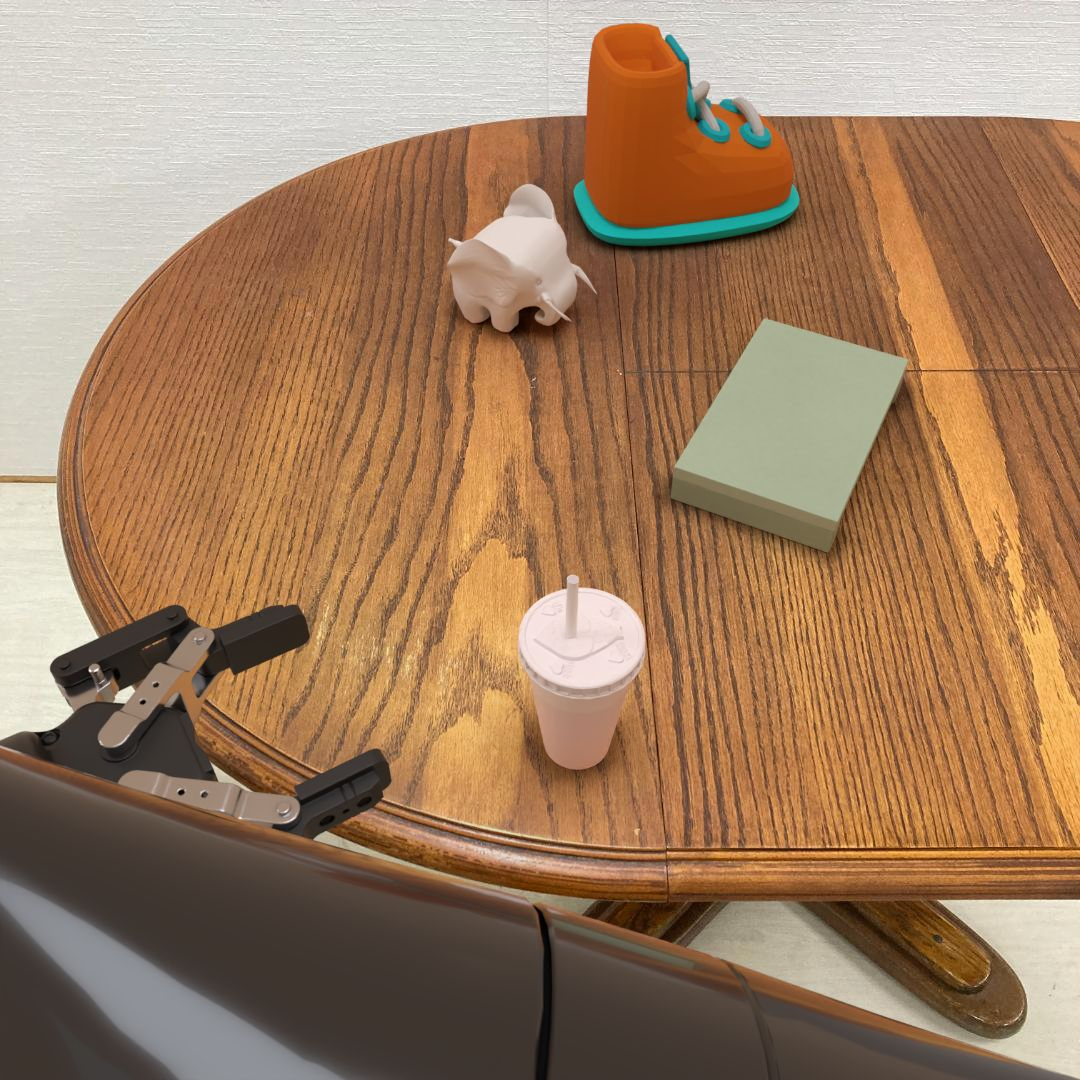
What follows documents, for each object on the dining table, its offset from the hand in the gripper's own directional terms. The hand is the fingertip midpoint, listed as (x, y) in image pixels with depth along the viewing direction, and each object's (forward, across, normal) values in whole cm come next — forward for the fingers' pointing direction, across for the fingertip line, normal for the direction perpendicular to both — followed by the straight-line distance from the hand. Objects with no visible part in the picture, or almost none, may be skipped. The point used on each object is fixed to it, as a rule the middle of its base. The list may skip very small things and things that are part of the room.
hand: (343, 689), depth 47 cm
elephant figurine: (+29, +36, +14) cm, 48 cm away
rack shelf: (+38, +13, +14) cm, 43 cm away
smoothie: (+12, 0, +14) cm, 19 cm away
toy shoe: (+50, +41, +14) cm, 66 cm away
